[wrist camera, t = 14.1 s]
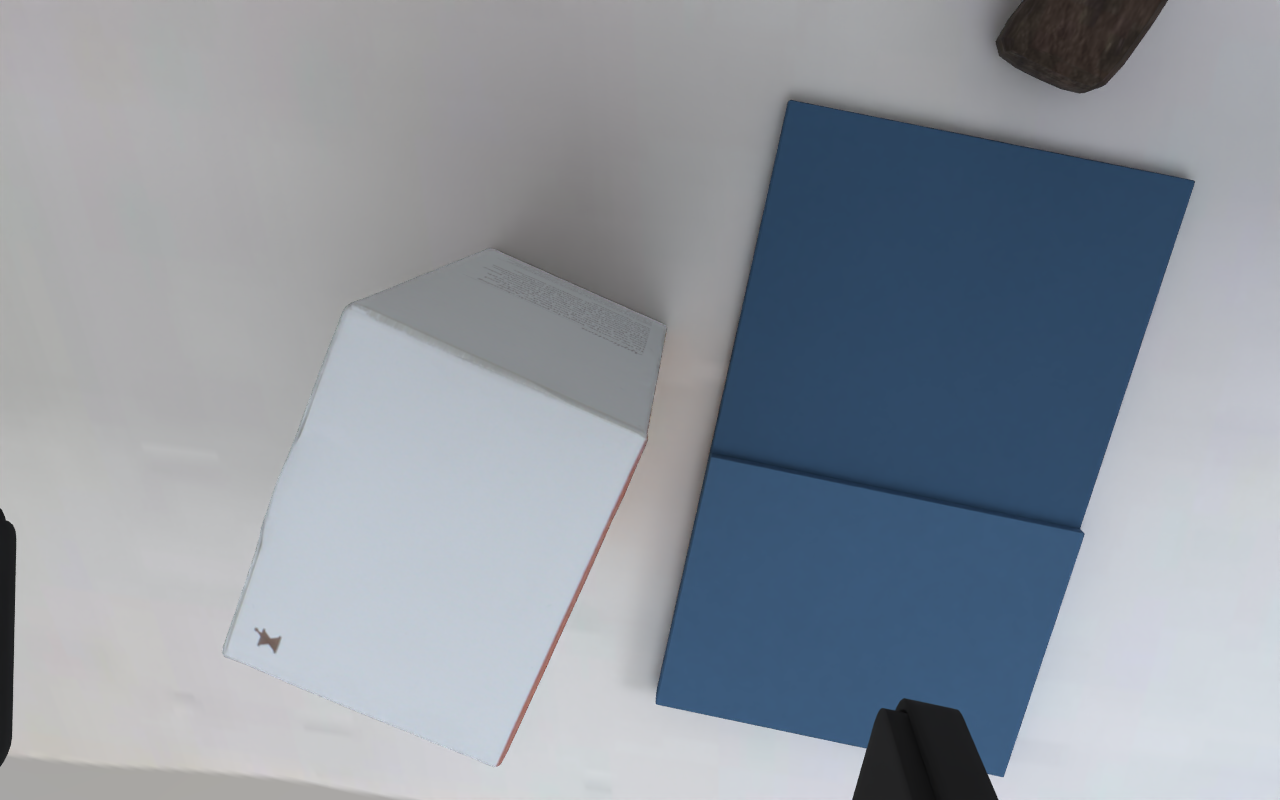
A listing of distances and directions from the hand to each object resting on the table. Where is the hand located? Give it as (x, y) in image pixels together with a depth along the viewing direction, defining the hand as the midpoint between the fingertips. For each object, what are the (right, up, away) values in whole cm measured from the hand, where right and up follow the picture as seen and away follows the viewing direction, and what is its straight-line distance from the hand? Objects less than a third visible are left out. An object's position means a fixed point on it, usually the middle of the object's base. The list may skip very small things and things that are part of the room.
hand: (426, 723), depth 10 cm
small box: (-1, +4, +21) cm, 22 cm away
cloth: (+11, +2, +21) cm, 24 cm away
